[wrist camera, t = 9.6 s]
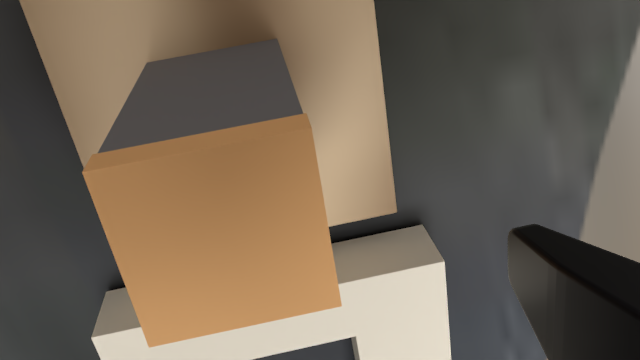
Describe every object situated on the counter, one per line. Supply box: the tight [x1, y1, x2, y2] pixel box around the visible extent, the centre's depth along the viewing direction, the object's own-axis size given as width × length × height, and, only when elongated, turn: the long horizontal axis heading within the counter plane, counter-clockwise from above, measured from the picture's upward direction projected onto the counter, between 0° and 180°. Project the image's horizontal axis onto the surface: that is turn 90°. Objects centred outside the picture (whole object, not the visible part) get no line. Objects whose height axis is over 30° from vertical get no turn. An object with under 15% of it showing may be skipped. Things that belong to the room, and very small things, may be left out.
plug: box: [82, 39, 342, 348], centre depth 14 cm, size 4×4×8 cm
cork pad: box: [19, 0, 397, 227], centre depth 18 cm, size 10×10×1 cm
